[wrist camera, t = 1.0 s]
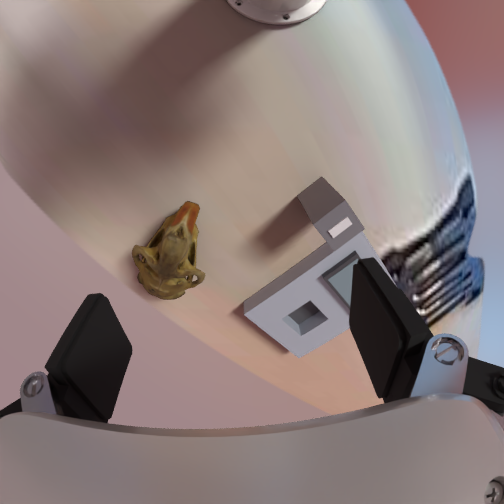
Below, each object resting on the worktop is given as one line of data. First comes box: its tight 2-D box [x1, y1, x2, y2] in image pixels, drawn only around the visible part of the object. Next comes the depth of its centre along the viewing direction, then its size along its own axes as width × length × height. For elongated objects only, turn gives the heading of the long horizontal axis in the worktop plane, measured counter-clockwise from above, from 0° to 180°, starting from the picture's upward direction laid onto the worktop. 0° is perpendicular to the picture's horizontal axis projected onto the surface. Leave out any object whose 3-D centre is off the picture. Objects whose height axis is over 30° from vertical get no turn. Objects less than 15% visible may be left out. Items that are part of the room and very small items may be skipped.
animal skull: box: [132, 201, 205, 300], centre depth 33 cm, size 9×16×10 cm, turn 160°
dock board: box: [244, 231, 397, 358], centre depth 41 cm, size 20×14×4 cm
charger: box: [297, 177, 365, 252], centre depth 31 cm, size 4×4×9 cm
